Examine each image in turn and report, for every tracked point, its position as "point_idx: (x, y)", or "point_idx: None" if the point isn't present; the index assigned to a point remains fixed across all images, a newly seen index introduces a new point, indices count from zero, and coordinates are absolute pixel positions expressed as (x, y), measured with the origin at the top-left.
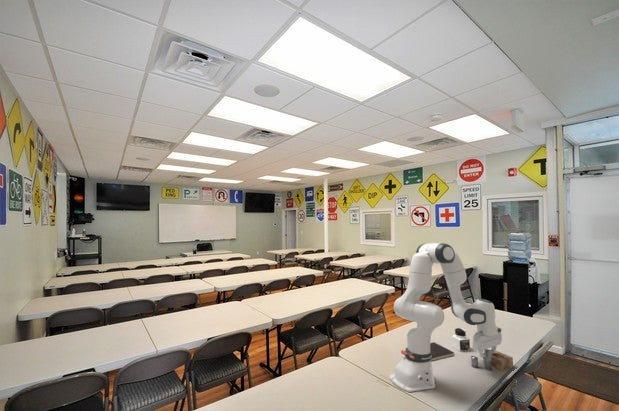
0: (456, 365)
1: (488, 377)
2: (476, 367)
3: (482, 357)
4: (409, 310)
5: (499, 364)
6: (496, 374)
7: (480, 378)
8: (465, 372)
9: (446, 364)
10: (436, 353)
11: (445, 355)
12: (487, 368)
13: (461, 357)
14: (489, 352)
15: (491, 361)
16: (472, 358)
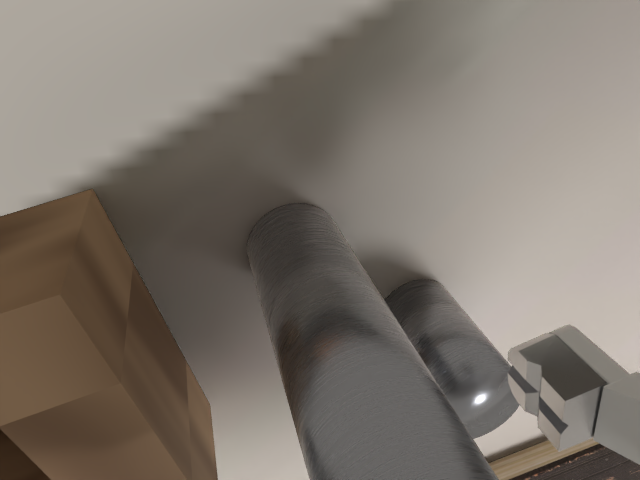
0: None
1: (503, 28)
2: (430, 283)
3: (569, 333)
4: None
5: (100, 274)
6: (295, 91)
7: (629, 27)
8: (636, 194)
9: (636, 341)
10: (596, 476)
11: (532, 466)
12: (341, 233)
13: None
14: (457, 466)
15: (305, 299)
16: None
